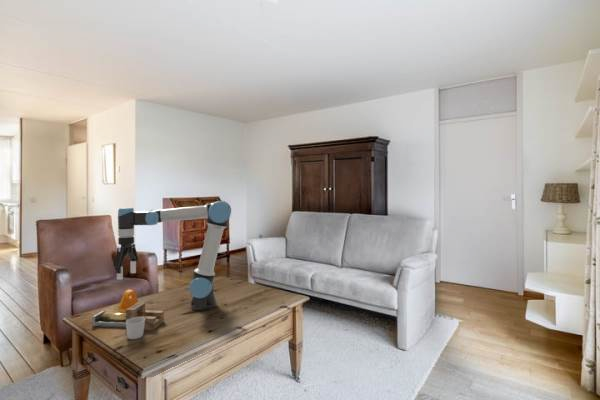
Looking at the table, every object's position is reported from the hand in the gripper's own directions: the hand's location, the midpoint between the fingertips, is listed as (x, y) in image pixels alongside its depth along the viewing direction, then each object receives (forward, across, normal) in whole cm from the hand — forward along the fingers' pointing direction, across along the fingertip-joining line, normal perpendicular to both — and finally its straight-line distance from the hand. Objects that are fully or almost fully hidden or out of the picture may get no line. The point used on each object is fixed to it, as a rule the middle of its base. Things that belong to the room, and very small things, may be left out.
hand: (126, 276), depth 174 cm
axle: (+21, +9, 0) cm, 23 cm away
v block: (+22, +9, -2) cm, 24 cm away
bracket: (+23, -8, -2) cm, 24 cm away
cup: (+23, +22, +16) cm, 36 cm away
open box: (+23, +9, +14) cm, 28 cm away
